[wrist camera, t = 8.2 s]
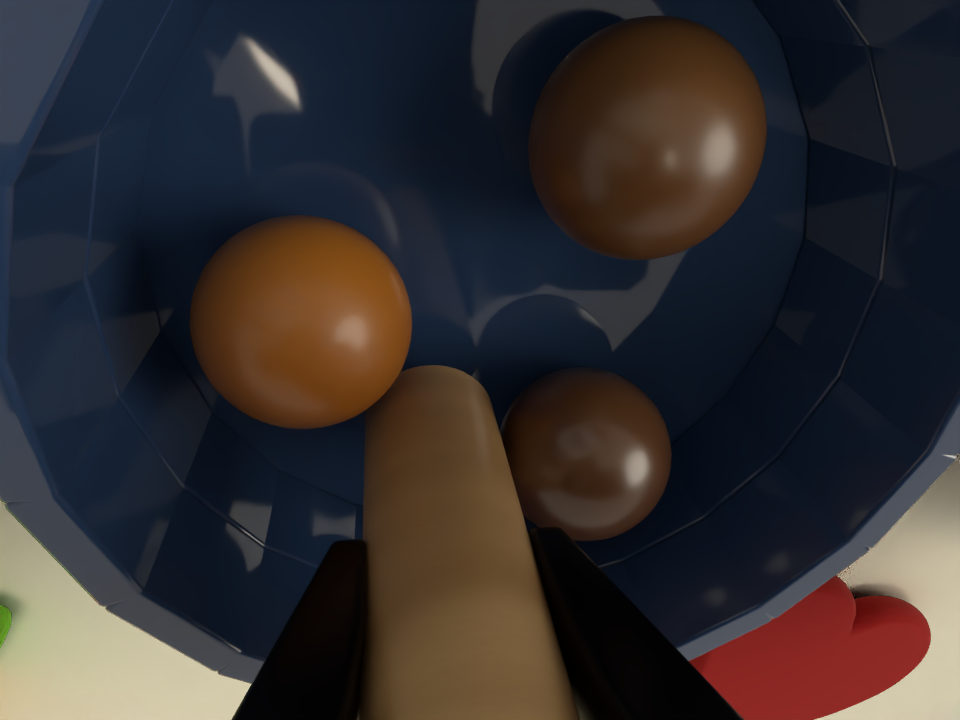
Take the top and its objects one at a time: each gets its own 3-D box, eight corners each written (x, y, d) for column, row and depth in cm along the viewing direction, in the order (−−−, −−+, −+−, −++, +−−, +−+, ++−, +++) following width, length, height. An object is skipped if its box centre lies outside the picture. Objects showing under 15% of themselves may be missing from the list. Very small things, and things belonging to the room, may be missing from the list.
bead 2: (519, 3, 8) (583, 10, 6) (722, 19, 9) (862, 31, 6) (501, 217, 10) (544, 296, 7) (674, 220, 10) (772, 296, 8)
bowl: (-5, -244, 7) (-478, -534, 3) (938, -126, 9) (1368, -215, 5) (188, 531, 13) (112, 754, 9) (715, 500, 15) (830, 673, 11)
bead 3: (490, 337, 11) (525, 441, 8) (648, 334, 11) (725, 433, 9) (480, 465, 13) (506, 586, 10) (618, 458, 13) (677, 572, 10)
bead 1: (201, 186, 9) (133, 263, 6) (408, 191, 9) (420, 266, 7) (231, 361, 10) (185, 479, 8) (407, 357, 11) (416, 469, 8)
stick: (363, 364, 10) (323, 1624, 2) (496, 361, 10) (850, 1446, 3) (367, 468, 11) (350, 1547, 3) (487, 462, 11) (716, 1429, 4)
